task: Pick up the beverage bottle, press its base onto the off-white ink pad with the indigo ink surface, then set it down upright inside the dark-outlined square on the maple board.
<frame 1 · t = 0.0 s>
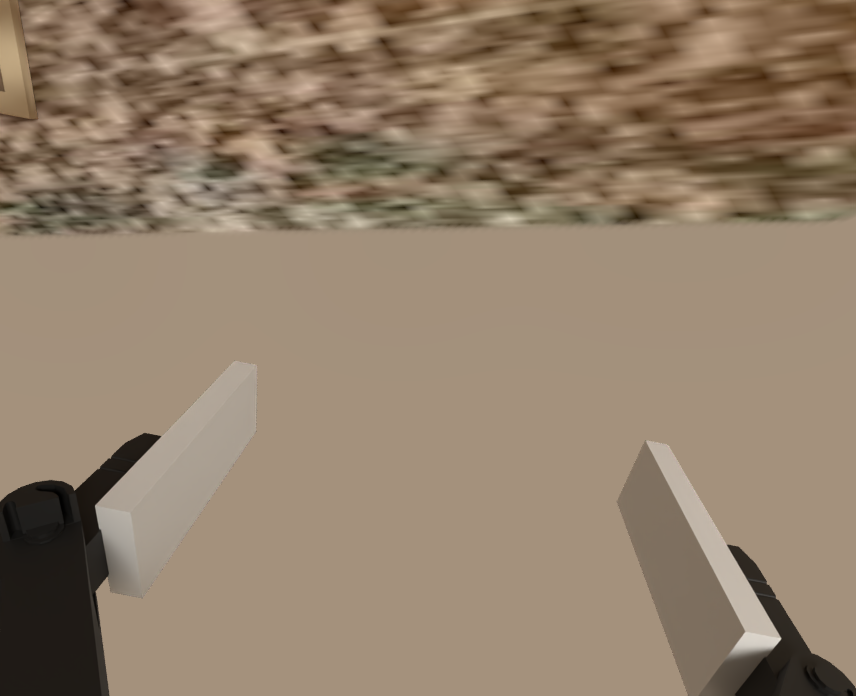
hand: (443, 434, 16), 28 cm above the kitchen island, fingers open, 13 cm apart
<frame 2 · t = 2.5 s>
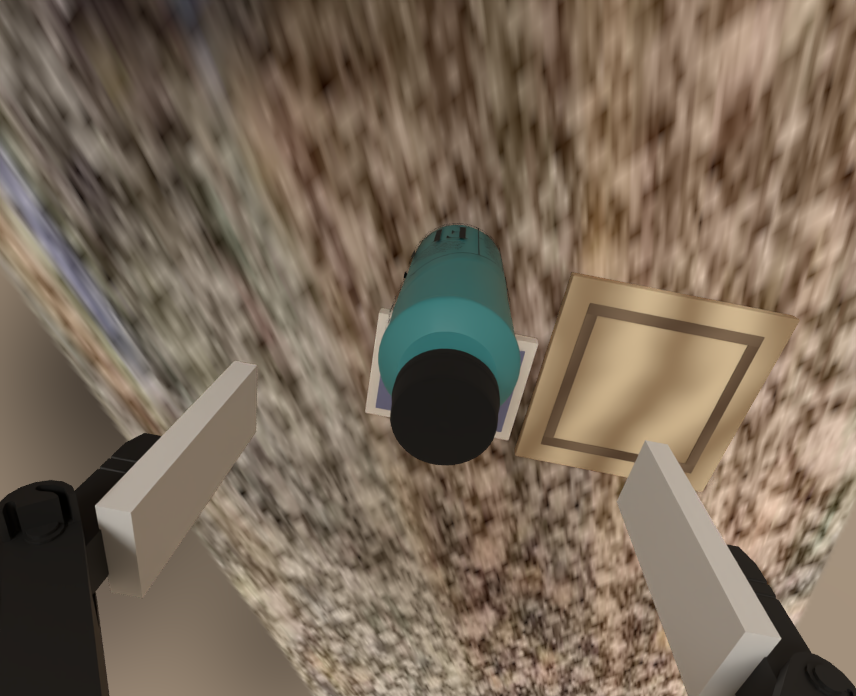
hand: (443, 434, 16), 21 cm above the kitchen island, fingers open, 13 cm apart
mark board: (640, 388, 38), on the kitchen island
ink pad: (447, 373, 39), on the kitchen island
beverage bottle: (458, 262, 35), on the kitchen island
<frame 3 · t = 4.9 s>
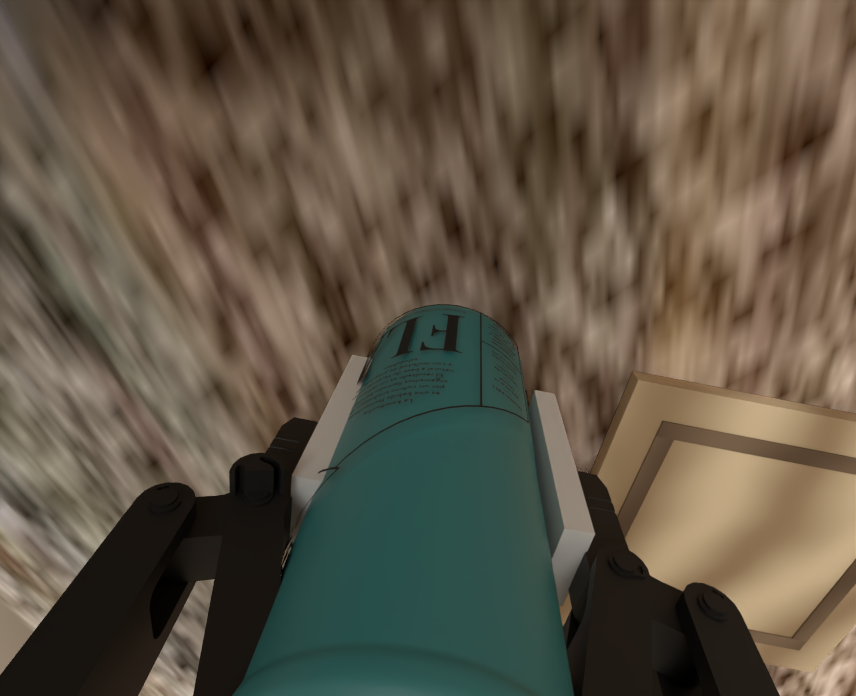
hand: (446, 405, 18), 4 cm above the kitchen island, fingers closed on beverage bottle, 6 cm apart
mark board: (730, 535, 25), on the kitchen island
beverage bottle: (448, 354, 22), on the kitchen island, touching gripper
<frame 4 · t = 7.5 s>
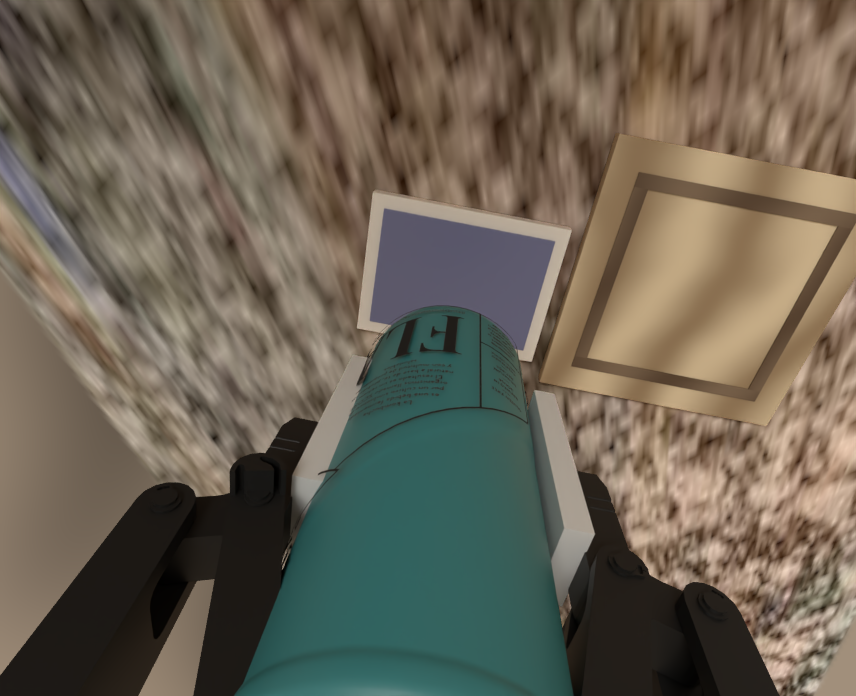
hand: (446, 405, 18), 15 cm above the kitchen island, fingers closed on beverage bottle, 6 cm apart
mark board: (696, 292, 31), on the kitchen island
ink pad: (457, 277, 32), on the kitchen island
beverage bottle: (447, 355, 22), point 11 cm above the kitchen island, touching gripper
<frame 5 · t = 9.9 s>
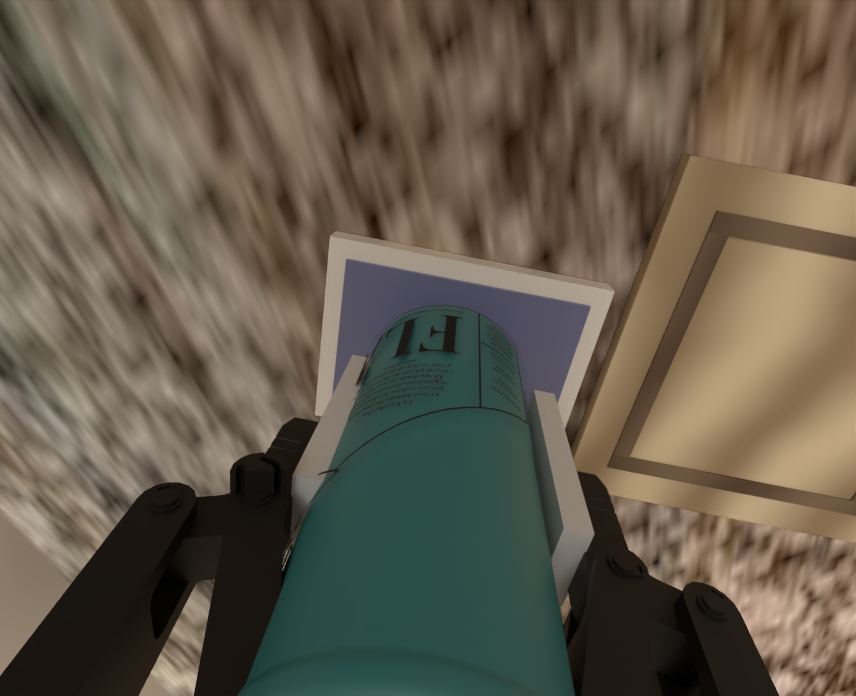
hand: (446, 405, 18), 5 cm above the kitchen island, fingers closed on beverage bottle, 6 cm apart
mark board: (785, 373, 22), on the kitchen island
ink pad: (452, 349, 23), on the kitchen island
beverage bottle: (446, 355, 22), point 1 cm above the kitchen island, touching gripper
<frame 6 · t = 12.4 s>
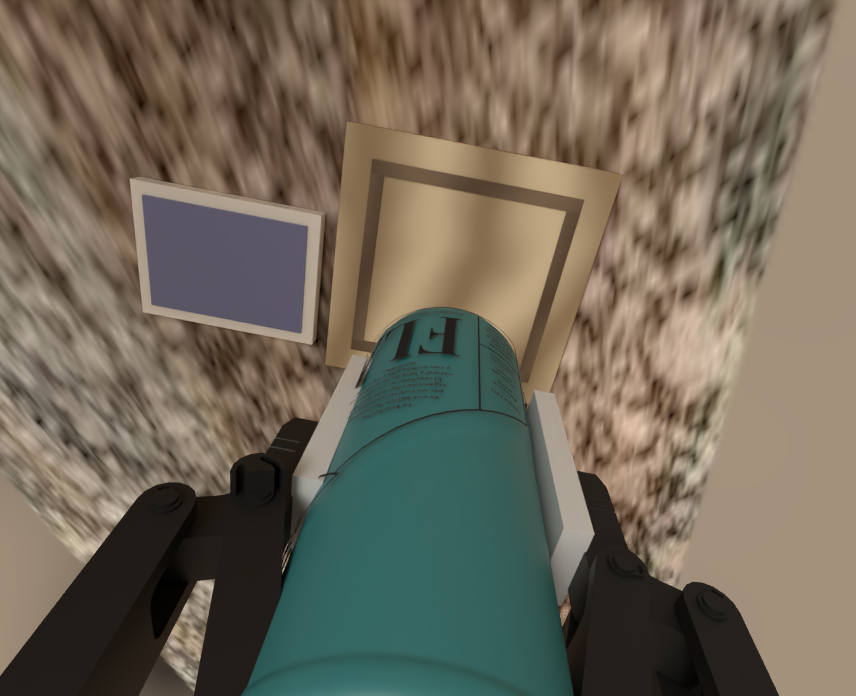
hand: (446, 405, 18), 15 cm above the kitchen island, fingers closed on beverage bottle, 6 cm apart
mark board: (457, 276, 32), on the kitchen island
ink pad: (233, 262, 33), on the kitchen island
beverage bottle: (446, 356, 22), point 11 cm above the kitchen island, touching gripper
when the fingers open (6 cm above the kitchen island, at t = 14.7 s): beverage bottle drops 1 cm, resting on mark board.
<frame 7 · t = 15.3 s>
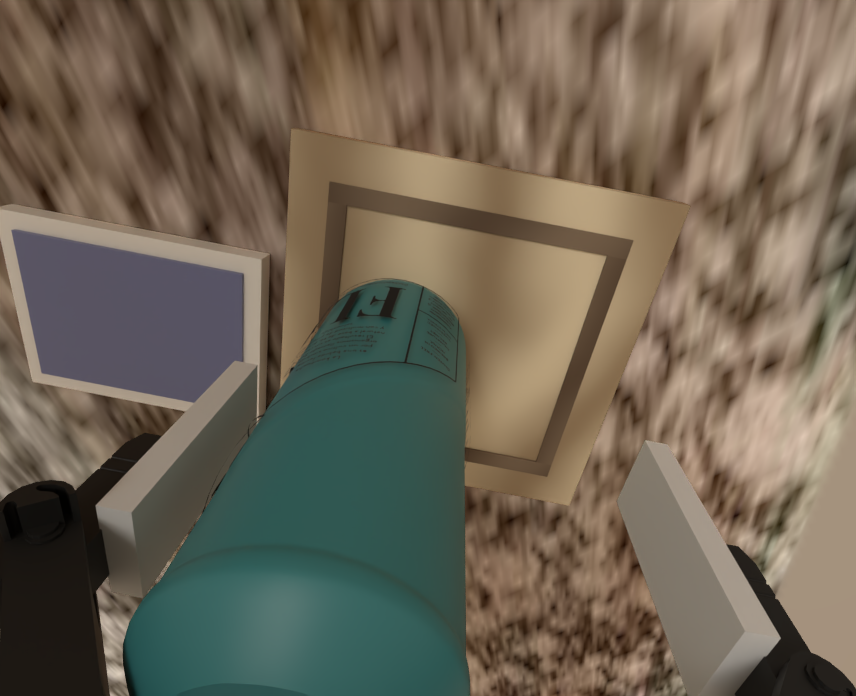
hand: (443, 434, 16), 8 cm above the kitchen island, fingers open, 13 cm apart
mark board: (452, 339, 23), on the kitchen island
ink pad: (149, 317, 24), on the kitchen island
beverage bottle: (399, 330, 23), point 1 cm above the kitchen island, touching mark board
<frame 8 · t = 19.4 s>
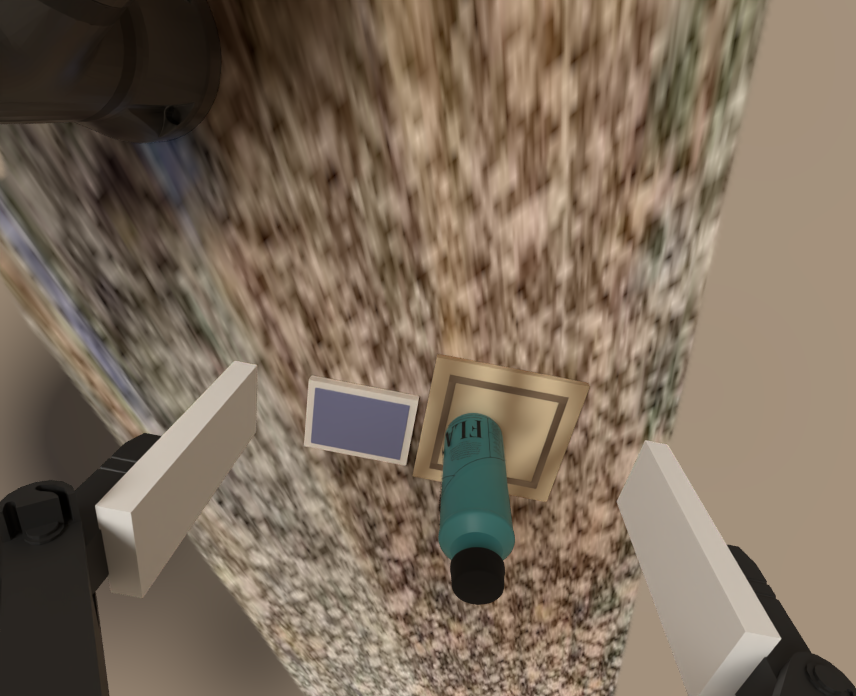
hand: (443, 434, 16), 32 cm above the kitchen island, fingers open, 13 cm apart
mark board: (495, 430, 54), on the kitchen island
ink pad: (361, 419, 55), on the kitchen island
beverage bottle: (473, 427, 53), point 1 cm above the kitchen island, touching mark board
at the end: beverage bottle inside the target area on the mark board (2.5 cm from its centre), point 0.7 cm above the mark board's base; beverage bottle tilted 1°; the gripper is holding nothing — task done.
